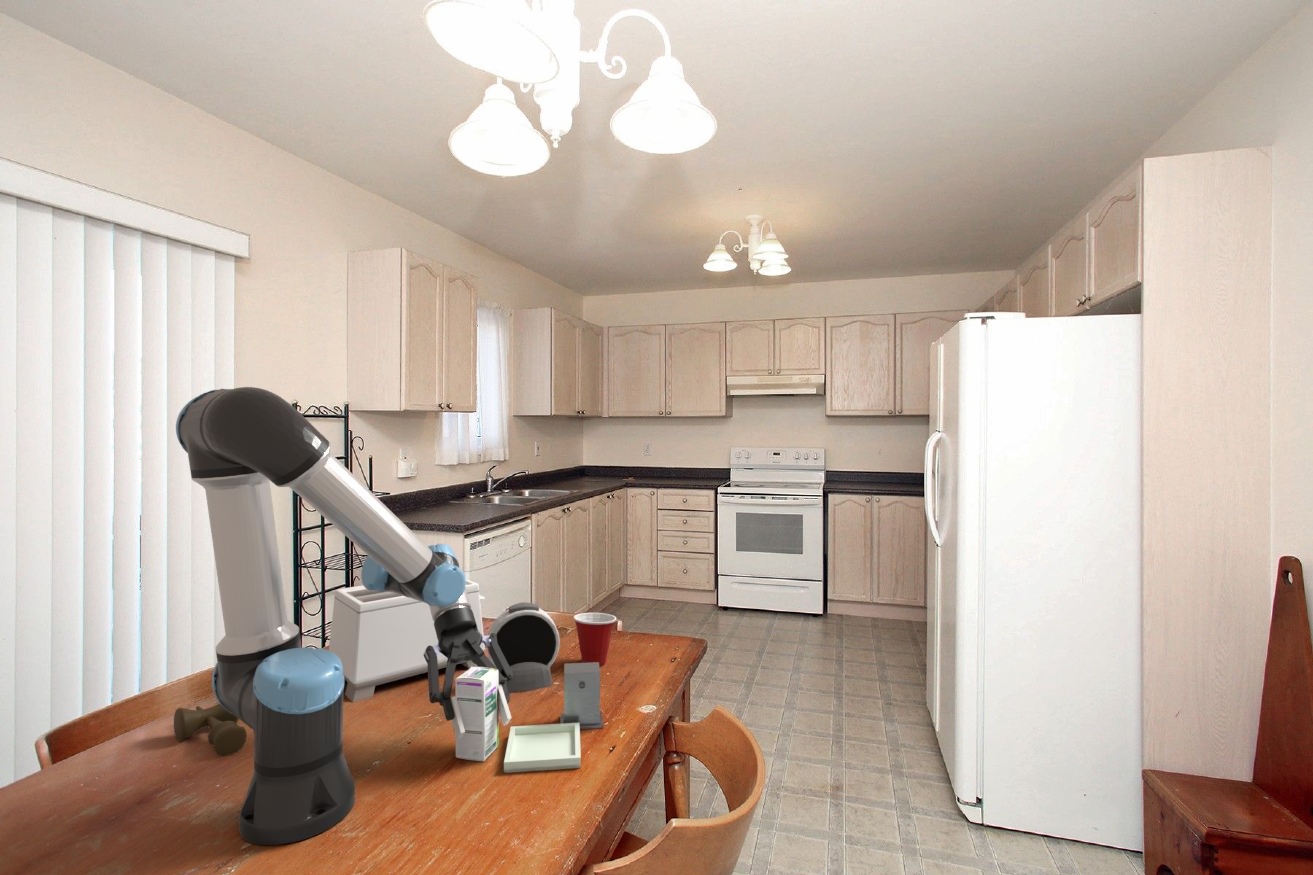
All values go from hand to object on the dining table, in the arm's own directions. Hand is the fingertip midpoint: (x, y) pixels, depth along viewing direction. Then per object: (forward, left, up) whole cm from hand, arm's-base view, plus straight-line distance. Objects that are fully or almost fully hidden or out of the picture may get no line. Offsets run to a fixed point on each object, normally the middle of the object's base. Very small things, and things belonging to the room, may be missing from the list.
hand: (484, 728), depth 109 cm
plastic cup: (+21, +44, -6) cm, 49 cm away
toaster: (-22, +45, -6) cm, 51 cm away
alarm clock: (+4, +34, -6) cm, 35 cm away
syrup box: (-2, +3, -6) cm, 7 cm away
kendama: (-52, +15, -6) cm, 54 cm away
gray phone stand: (+17, +12, -6) cm, 22 cm away
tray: (+10, +2, -6) cm, 12 cm away
